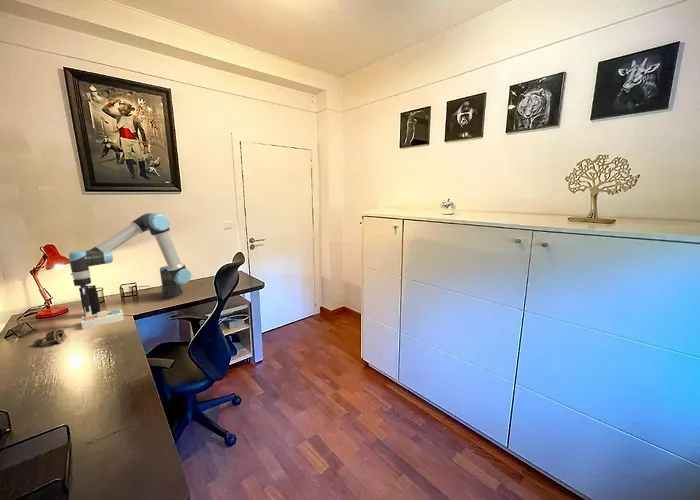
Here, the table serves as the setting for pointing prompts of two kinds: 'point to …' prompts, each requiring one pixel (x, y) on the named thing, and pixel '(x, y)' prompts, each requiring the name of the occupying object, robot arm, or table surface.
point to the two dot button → (102, 313)
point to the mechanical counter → (52, 338)
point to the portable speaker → (92, 300)
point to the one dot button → (114, 311)
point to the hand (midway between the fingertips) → (89, 316)
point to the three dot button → (89, 317)
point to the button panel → (102, 319)
